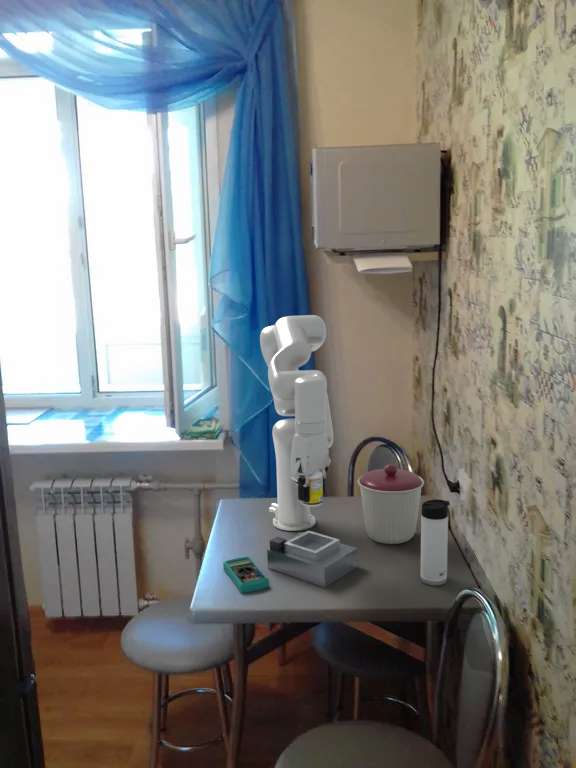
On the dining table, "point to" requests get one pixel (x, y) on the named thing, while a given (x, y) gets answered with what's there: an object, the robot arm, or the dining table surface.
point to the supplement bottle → (315, 489)
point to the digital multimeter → (245, 574)
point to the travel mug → (434, 542)
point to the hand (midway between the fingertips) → (311, 496)
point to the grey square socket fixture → (312, 557)
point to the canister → (390, 503)
